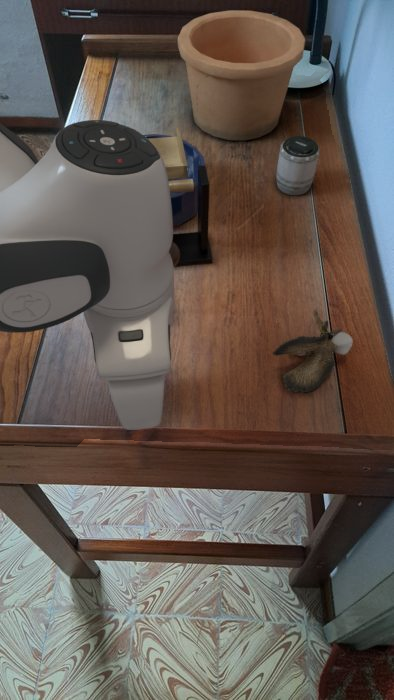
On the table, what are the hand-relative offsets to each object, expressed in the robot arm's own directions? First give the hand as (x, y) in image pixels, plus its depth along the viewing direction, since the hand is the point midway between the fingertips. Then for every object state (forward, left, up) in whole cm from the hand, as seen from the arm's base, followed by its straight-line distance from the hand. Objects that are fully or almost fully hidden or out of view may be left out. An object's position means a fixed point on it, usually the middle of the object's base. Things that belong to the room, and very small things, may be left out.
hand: (138, 372), depth 59 cm
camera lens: (+29, +38, -5) cm, 48 cm away
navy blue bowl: (+5, +38, -5) cm, 38 cm away
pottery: (+23, +60, -5) cm, 64 cm away
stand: (+5, +24, -5) cm, 25 cm away
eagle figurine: (+22, +2, -5) cm, 22 cm away
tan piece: (+5, +23, +5) cm, 24 cm away
